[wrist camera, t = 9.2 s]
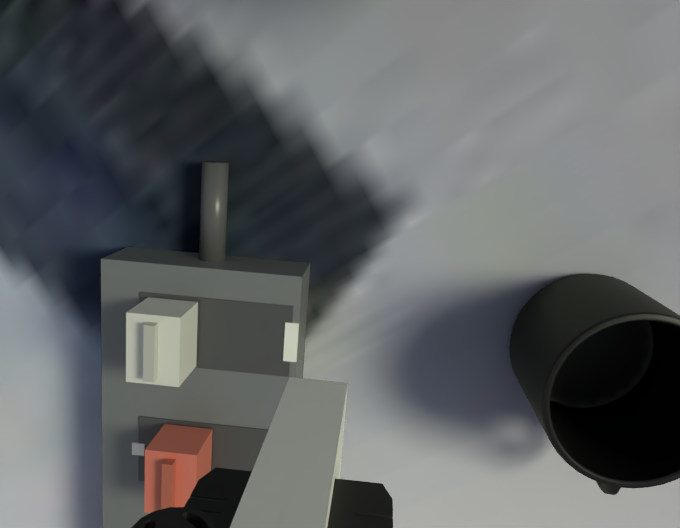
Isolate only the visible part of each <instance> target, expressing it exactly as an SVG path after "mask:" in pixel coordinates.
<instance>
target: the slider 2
mask: <svg viewBox="0 0 680 528" xmlns="http://www.w3.org/2000/svg"><path fill="white" fill-rule="evenodd" d="M211 456H212V429H208V428H198V427H189V426H179V425H170V424H164V425H163V427H162V428H161V429H160V431H159V432H158V433H157V435H156V436H155V437H154V439H153V440H152V441H151V442H150V444H149V445H148V446H147V448H146V449H145V495H144V513H152V512H154V511H157V510H161V509H165V508H169V507H184V506H185V504H186V502H187V501H188V499H189V498H190V495H191V493H192V491H193V489H194V488H195V486H196V484H197V482H198V480H199V479H200V478H202V477H203V476H205V475H206V474H207V473H209V472H210V471H211Z"/></svg>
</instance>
